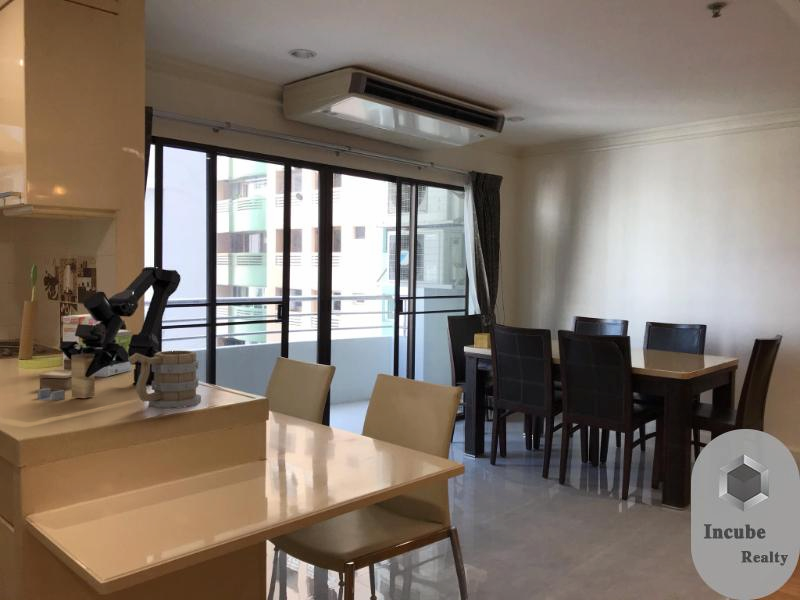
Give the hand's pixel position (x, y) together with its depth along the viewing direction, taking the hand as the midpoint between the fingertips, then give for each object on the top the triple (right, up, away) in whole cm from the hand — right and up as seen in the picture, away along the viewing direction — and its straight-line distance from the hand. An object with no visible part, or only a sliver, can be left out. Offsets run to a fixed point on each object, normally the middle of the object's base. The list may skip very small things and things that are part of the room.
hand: (79, 375), depth 177 cm
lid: (-13, -2, +18) cm, 23 cm away
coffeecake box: (-27, -4, +60) cm, 66 cm away
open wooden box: (-13, -6, +19) cm, 24 cm away
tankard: (+23, -8, -2) cm, 25 cm away
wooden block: (0, -6, +2) cm, 6 cm away
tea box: (-14, -5, +49) cm, 51 cm away
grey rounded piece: (-8, -7, 0) cm, 11 cm away
